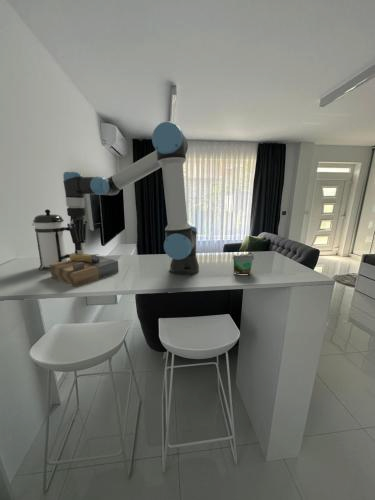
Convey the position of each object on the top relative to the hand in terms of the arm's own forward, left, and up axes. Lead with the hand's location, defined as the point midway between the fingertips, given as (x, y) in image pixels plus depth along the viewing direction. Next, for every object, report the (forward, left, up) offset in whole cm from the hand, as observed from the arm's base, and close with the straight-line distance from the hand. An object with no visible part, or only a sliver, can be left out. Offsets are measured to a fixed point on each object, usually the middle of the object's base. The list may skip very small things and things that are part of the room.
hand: (81, 256), depth 104 cm
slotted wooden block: (-5, +1, -8) cm, 10 cm away
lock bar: (-4, +1, -2) cm, 5 cm away
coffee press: (+18, +3, -8) cm, 20 cm away
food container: (-67, -46, -8) cm, 82 cm away
